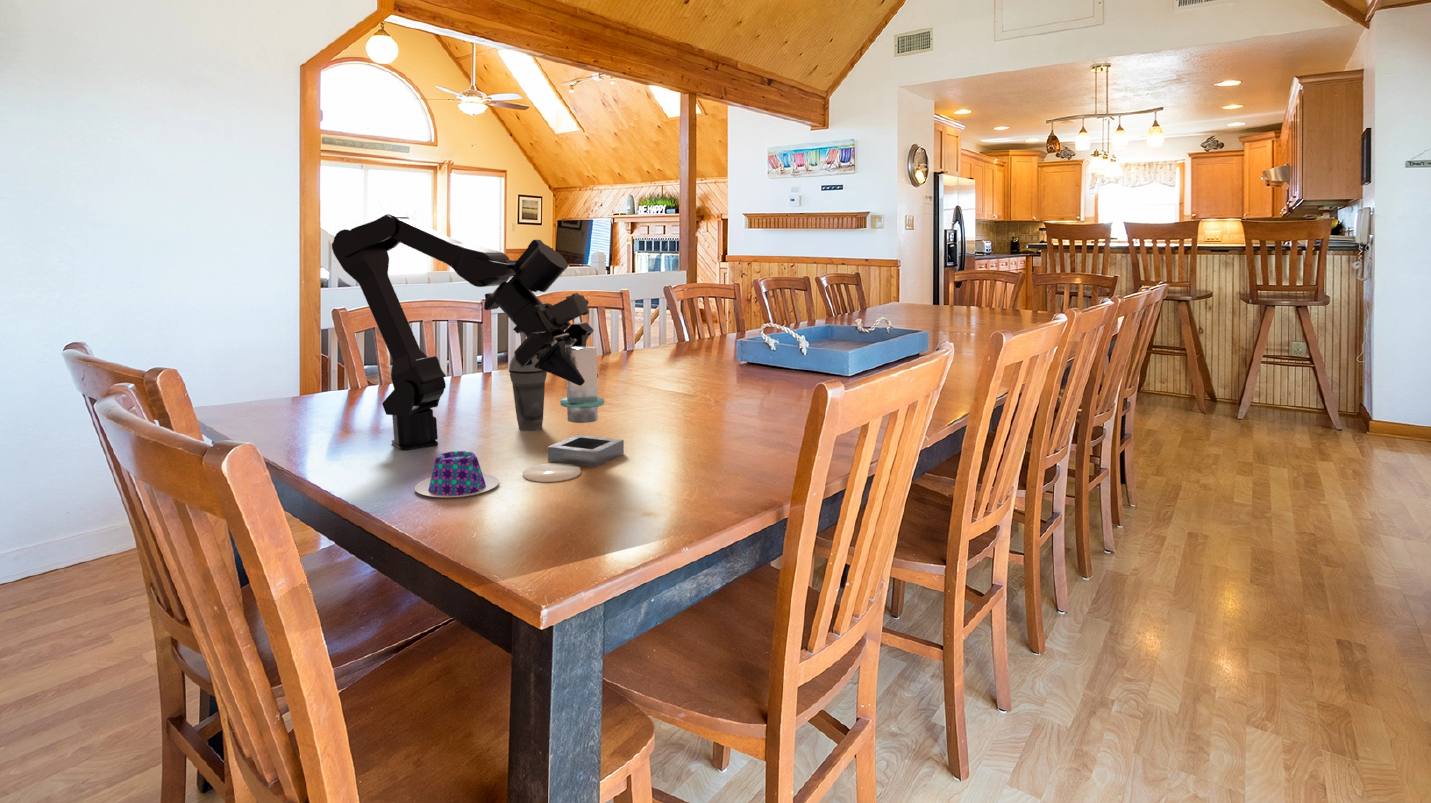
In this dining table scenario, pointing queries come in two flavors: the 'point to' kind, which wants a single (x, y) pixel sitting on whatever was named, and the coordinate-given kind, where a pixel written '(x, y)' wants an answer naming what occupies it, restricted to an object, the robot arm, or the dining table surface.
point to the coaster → (551, 472)
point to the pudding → (456, 476)
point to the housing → (585, 450)
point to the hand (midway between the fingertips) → (589, 381)
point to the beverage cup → (528, 394)
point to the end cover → (583, 386)
